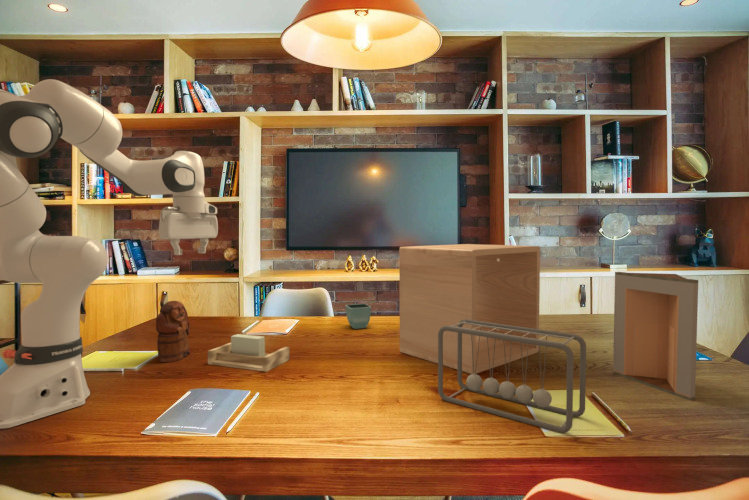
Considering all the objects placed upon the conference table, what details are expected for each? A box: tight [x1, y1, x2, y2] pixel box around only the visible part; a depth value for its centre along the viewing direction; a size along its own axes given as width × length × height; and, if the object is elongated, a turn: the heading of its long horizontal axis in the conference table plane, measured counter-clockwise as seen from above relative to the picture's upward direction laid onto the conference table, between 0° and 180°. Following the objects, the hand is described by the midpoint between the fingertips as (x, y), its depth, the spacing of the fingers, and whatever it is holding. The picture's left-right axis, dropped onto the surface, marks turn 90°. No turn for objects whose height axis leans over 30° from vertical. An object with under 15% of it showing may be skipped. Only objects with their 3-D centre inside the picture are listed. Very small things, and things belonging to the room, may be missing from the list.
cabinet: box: [612, 271, 699, 401], centre depth 113 cm, size 21×10×28 cm, turn 21°
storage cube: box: [398, 243, 541, 375], centre depth 143 cm, size 34×29×34 cm
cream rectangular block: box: [230, 333, 266, 357], centre depth 134 cm, size 3×10×7 cm, turn 69°
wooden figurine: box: [155, 300, 191, 363], centre depth 139 cm, size 12×6×18 cm, turn 175°
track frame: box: [207, 342, 290, 373], centre depth 134 cm, size 12×21×4 cm, turn 69°
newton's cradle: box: [437, 319, 587, 434], centre depth 99 cm, size 30×10×18 cm, turn 51°
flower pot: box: [345, 303, 372, 330], centre depth 180 cm, size 9×9×9 cm
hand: (190, 254), depth 132 cm, fingers open, 8 cm apart
